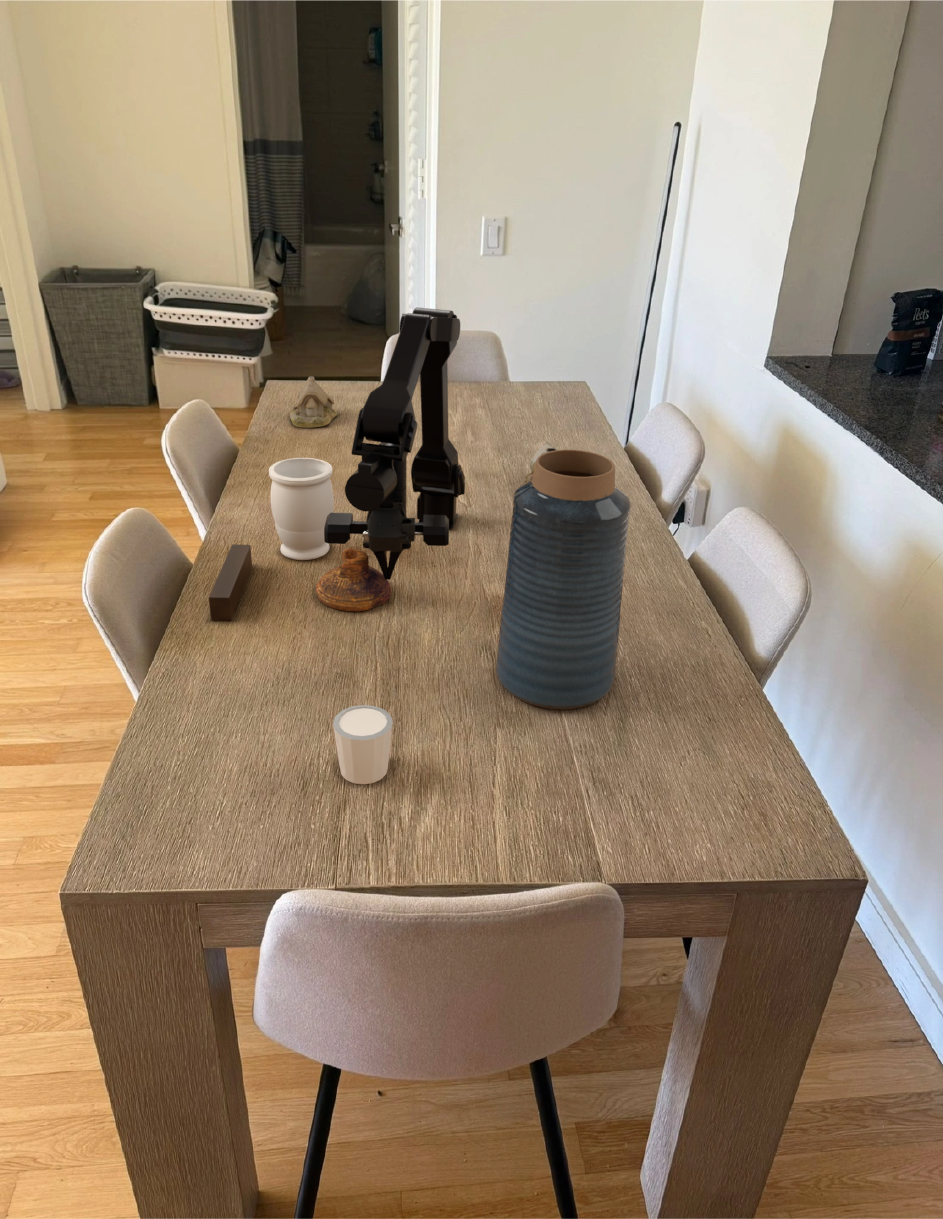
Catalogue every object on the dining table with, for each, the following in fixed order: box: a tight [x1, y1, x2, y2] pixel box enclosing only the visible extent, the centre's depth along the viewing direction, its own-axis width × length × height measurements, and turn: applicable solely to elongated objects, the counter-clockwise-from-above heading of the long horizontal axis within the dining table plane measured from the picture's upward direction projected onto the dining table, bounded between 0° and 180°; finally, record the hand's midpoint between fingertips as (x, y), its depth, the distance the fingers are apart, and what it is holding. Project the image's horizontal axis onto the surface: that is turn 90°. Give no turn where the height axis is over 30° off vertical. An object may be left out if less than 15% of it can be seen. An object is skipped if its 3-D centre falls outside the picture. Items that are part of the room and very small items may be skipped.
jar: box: [268, 457, 335, 561], centre depth 159 cm, size 11×10×15 cm
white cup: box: [332, 704, 394, 785], centre depth 111 cm, size 7×7×7 cm
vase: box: [495, 449, 631, 710], centre depth 123 cm, size 16×16×32 cm
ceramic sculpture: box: [524, 441, 559, 483], centre depth 189 cm, size 11×9×15 cm
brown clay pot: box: [315, 548, 393, 612], centre depth 148 cm, size 12×12×7 cm
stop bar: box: [208, 544, 253, 622], centre depth 148 cm, size 3×18×4 cm, turn 2°
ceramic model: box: [289, 375, 338, 428], centre depth 221 cm, size 14×11×10 cm
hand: (387, 578), depth 148 cm, fingers closed
